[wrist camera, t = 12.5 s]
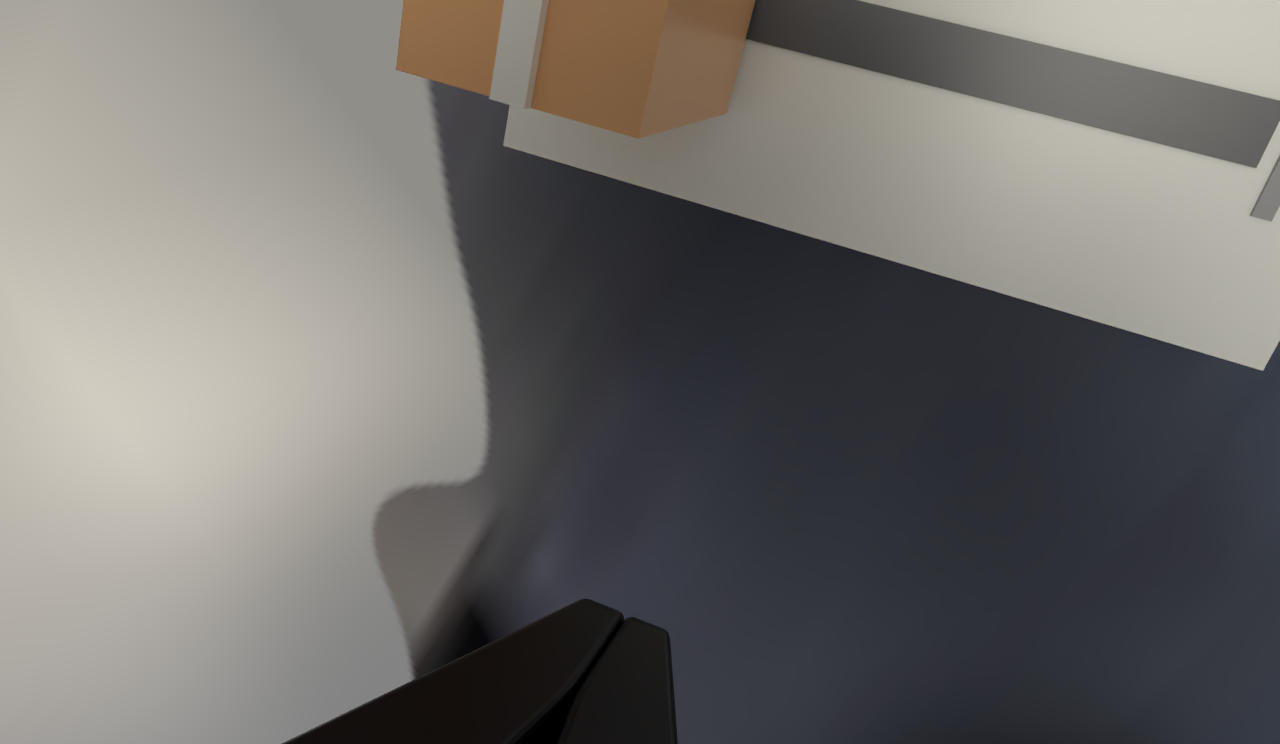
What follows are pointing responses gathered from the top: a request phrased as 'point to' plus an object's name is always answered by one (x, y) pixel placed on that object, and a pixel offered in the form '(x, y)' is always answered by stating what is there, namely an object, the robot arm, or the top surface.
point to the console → (1002, 151)
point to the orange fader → (584, 56)
